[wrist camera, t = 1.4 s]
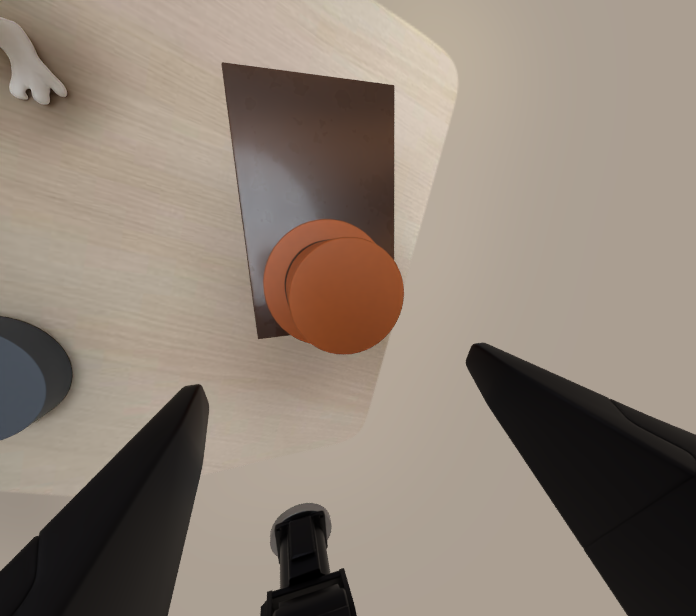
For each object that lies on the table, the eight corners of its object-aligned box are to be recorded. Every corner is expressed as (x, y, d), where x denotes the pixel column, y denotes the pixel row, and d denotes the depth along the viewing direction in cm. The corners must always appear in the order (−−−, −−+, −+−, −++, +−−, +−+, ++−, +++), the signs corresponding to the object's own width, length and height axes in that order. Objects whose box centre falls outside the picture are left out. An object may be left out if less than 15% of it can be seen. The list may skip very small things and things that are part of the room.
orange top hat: (385, 334, 17) (425, 365, 13) (271, 350, 15) (268, 393, 11) (384, 219, 16) (430, 205, 11) (255, 220, 14) (244, 205, 9)
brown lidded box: (357, 298, 26) (396, 322, 17) (264, 307, 24) (257, 339, 15) (352, 147, 23) (397, 85, 14) (244, 140, 20) (220, 61, 12)
